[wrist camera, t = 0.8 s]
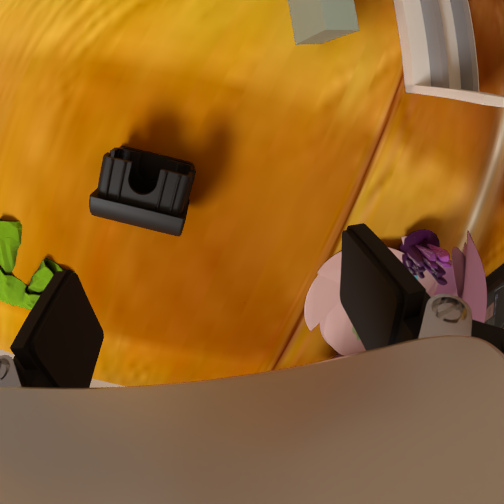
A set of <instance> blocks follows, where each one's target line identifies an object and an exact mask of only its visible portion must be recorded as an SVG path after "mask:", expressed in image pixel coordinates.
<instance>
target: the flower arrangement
mask: <svg viewBox="0 0 504 504" xmlns="http://www.w3.org/2000/svg"><path fill="white" fill-rule="evenodd" d="M401 238H402V244H401V246H400V249H399V251H398V250H395V249H392V248H389V247H388V248H389V249H390V250H391V251H392V252H393V253H394V255H395V256H396V257H397V258H398V259H399V260H400V261H401V262H402V263H403V264H404V265H405V266H406V268H407V269H408V270H409V271H410V272H411V273H412V274H413V275H414V276H415V277H416V279H417V280H418V281H419V282H420V283H421V284H422V285H423V287H424V288H425V289H426V292H427V293H428V294H429V296H430V297H432V296H435V295H437V294H452V295H455V296H457V297H459V298H461V299H463V300H464V301H465V302H466V303H467V304H468V305H469V306H470V308H471V310H472V319H473V320H476V321H479V322H483V323H484V322H485V317H486V308H487V286H486V278H485V273H484V269H483V265H482V262H481V259H480V256H479V254H478V251H477V249H476V247H475V244H474V242H473V240H472V238H471V235H470V233H469V231H468V233H467V244H466V243H465V244H464V249H463V253H462V252H461V251H460V250H459V249H458V248H457V247H453V250H452V261H451V260H449V256H450V255H449V253H448V252H447V251H446V250H444V249H442V248H439V247H440V246H439V240H438V238H437V236H436V234H435V233H433V232H432V231H430V230H418V231H415V232H413V233H411V234H410V235H408V236H405V237H401ZM341 257H342V251H341V252H339V253H337V254H335V255H334V256H332V257H331V258H330V259H329V260H327V261H326V262H325V263H324V264H323V265H322V267H321V268H320V269H319V271H318V272H317V274H319V275H318V276H317V277H316V279H315V280H314V282H313V283H312V285H311V287H310V289H309V291H308V294H307V297H306V301H305V308H304V313H305V321H306V324H307V326H308V328H309V329H310V331H312V330H313V329H314V328H315V327H316V326H317V325H318V324H319V323H320V330H321V333H322V336H323V338H324V339H325V341H326V342H327V343H328V344H329V345H330V346H331V347H333V348H334V350H336V351H337V352H338V354H337V355H336V356H335V357H333V358H332V359H334V358H338V357H343V356H347V355H351V354H355V353H360V352H363V351H366V350H365V348H364V346H363V344H362V342H361V340H360V338H359V336H358V334H357V332H356V330H355V328H354V327H353V325H352V323H351V321H350V319H349V317H348V315H347V314H346V312H345V310H344V308H343V306H342V304H341V301H340V279H341Z"/></svg>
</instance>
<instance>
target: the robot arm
mask: <svg viewBox="0 0 504 504" xmlns="http://www.w3.org/2000/svg"><path fill="white" fill-rule="evenodd" d="M340 301H341V304H342V306H343V308H344V310H345V312H346V314H347V315H348V317H349V319H350V321H351V323H352V325H353V327H354V328H355V330H356V332H357V334H358V336H359V338H360V340H361V342H362V344H363V346H364V348H365V350H366V351H363V352H360V353H355V354H351V355H347V356H343V357H338V358H334V359H329V360H325V361H320V362H315V363H310V364H305V365H300V366H295V367H290V368H284V369H279V370H273V371H267V372H261V373H254V374H248V375H241V376H234V377H227V378H219V379H211V380H202V381H193V382H183V383H172V384H160V385H146V386H129V387H107V388H89V386H90V383H91V379H92V376H93V372H94V368H95V365H96V362H97V358H98V355H99V352H100V348H101V345H102V342H103V338H104V334H103V330H102V328H101V326H100V324H99V321H98V319H97V317H96V315H95V313H94V311H93V309H92V307H91V305H90V302H89V300H88V298H87V296H86V294H85V291H84V289H83V287H82V284H81V282H80V280H79V277H78V275H77V274H76V273H73V272H72V271H71V270H70V269H69V270H63V271H57V272H55V274H54V275H53V277H52V278H51V280H50V281H49V283H48V284H47V286H46V287H45V289H44V290H43V292H42V294H41V295H40V297H39V298H38V300H37V302H36V303H35V305H34V307H33V308H32V310H31V312H30V313H29V315H28V317H27V318H26V320H25V322H24V324H23V325H22V327H21V329H20V331H19V332H18V334H17V336H16V338H15V340H14V342H13V343H12V345H11V347H10V349H11V350H12V352H13V353H14V355H15V356H14V359H12V357H10V356H8V355H2V356H0V504H504V329H503V328H500V327H496V326H493V325H490V324H486V323H483V322H479V321H476V320H473V319H472V310H471V308H470V306H469V305H468V304H467V303H466V302H465V301H464V300H463V299H461V298H459V297H457V296H455V295H452V294H437V295H435V296H432V297H430V296H429V294H428V293H427V292H426V289H425V288H424V287H423V285H422V284H421V283H420V282H419V281H418V280H417V279H416V277H415V276H414V275H413V274H412V273H411V272H410V271H409V270H408V269H407V268H406V266H405V265H404V264H403V263H402V262H401V261H400V260H399V259H398V258H397V257H396V256H395V255H394V253H393V252H392V251H391V250H390V249H389V248H388V247H387V246H386V245H385V244H384V243H383V242H382V241H381V240H380V239H379V238H378V237H377V236H376V235H375V234H374V233H373V232H372V231H371V230H370V229H369V228H368V227H367V226H366V225H365V224H357V225H350V226H348V227H347V230H345V231H343V233H342V257H341V279H340Z"/></svg>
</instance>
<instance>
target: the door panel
mask: <svg viewBox="0 0 504 504" xmlns="http://www.w3.org/2000/svg"><path fill="white" fill-rule="evenodd" d="M288 3H289V9H290V14H291V20H292V26H293V32H294V39H295V45H299V44H322V43H325V42H327V41H330V40H333V39H336V38H339V37H341V36H344V35H347V34H350V33H353V32H356V31H359V27H358V21H357V15H356V9H355V4H354V0H288Z"/></svg>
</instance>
